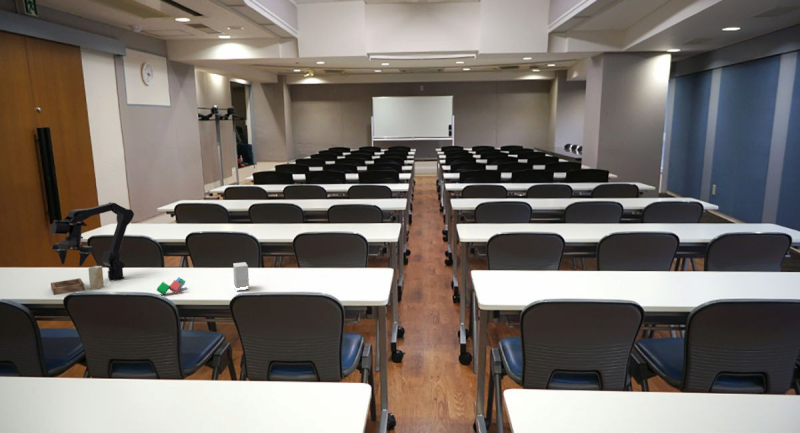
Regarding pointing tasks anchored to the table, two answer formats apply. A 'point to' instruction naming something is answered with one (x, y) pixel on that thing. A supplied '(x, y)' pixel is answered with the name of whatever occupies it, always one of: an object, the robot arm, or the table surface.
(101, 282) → the box
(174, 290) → the building blocks
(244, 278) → the small box
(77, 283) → the brown square frame
